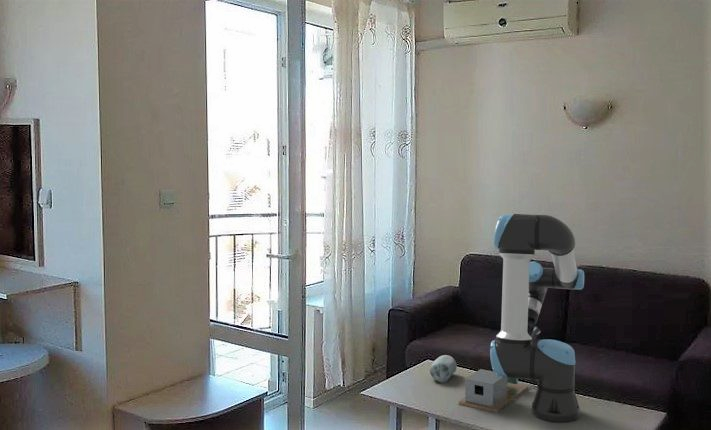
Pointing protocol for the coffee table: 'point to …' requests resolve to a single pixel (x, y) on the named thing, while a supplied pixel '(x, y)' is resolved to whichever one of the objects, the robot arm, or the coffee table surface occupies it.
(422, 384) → the coffee table surface
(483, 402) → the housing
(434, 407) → the coffee table surface
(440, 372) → the spool
